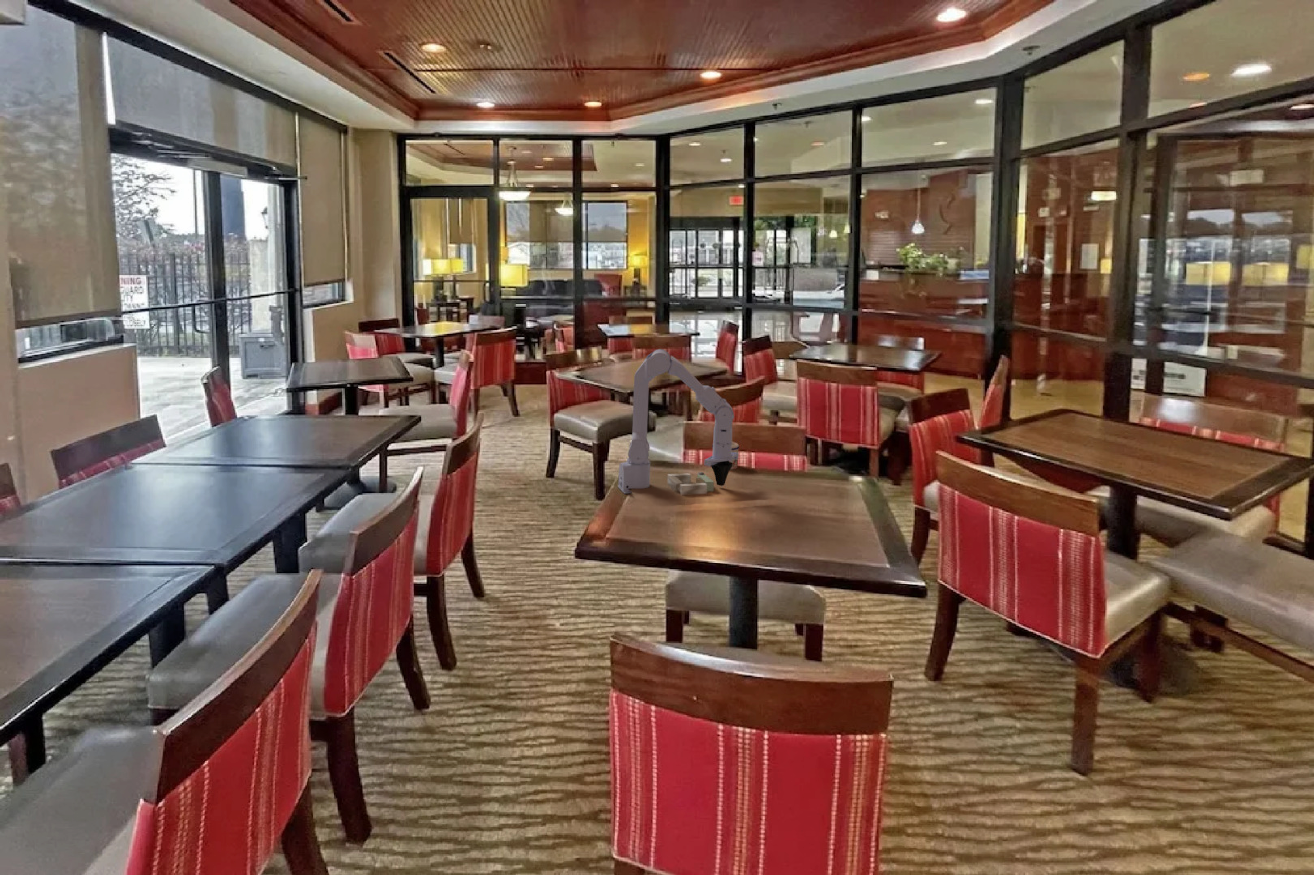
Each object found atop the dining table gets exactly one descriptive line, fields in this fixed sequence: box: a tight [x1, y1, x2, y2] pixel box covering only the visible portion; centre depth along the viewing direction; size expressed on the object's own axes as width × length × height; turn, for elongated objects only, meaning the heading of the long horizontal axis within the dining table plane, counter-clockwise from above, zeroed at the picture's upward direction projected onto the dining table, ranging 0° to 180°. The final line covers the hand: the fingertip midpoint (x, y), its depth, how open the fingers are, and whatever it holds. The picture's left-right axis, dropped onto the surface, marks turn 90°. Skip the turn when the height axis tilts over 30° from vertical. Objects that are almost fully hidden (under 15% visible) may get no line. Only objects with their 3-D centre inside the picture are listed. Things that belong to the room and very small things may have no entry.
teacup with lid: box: [711, 440, 740, 470], centre depth 306 cm, size 12×9×12 cm
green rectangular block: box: [696, 471, 715, 492], centre depth 280 cm, size 2×10×3 cm, turn 16°
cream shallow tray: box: [667, 472, 708, 496], centre depth 279 cm, size 14×14×4 cm
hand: (720, 484), depth 279 cm, fingers closed
